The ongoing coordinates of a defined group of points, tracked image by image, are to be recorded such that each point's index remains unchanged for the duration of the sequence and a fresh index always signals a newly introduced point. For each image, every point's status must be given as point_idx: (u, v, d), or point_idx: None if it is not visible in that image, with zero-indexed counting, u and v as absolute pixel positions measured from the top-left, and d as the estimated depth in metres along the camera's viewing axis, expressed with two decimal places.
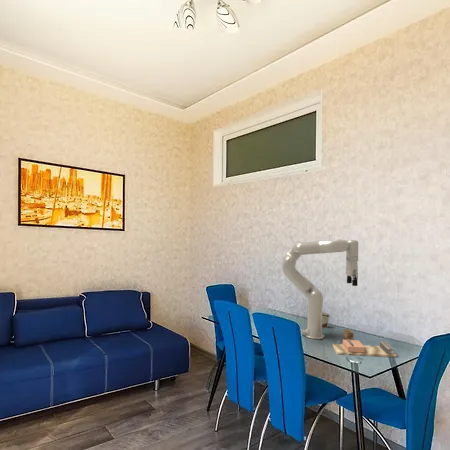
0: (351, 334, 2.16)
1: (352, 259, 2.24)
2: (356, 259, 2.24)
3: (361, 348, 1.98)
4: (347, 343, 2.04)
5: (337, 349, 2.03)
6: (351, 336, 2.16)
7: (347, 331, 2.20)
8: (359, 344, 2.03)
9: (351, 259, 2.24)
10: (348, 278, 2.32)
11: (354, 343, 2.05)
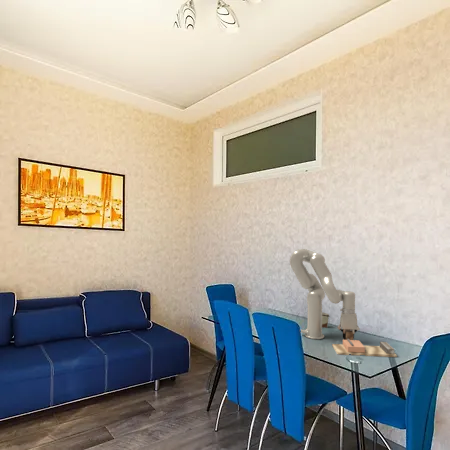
0: (351, 334, 2.16)
1: (354, 311, 2.19)
2: None
3: (361, 348, 1.98)
4: (347, 343, 2.04)
5: (337, 349, 2.03)
6: (351, 336, 2.16)
7: (347, 331, 2.20)
8: (359, 344, 2.03)
9: (354, 312, 2.18)
10: None
11: (354, 343, 2.05)
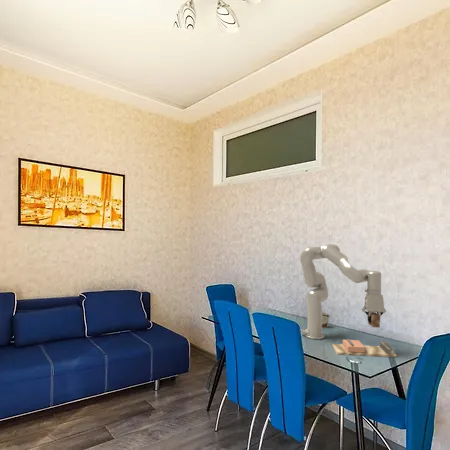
0: (377, 316, 2.00)
1: (380, 292, 2.02)
2: None
3: (361, 348, 1.98)
4: (347, 343, 2.04)
5: (337, 349, 2.03)
6: (377, 319, 2.00)
7: (373, 313, 2.03)
8: (359, 344, 2.03)
9: (380, 293, 2.02)
10: None
11: (354, 343, 2.05)
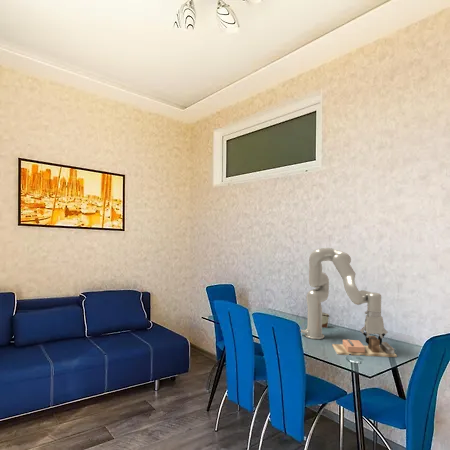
0: (377, 341, 2.00)
1: (380, 314, 2.02)
2: None
3: (361, 348, 1.98)
4: (347, 343, 2.04)
5: (337, 349, 2.03)
6: (377, 343, 2.00)
7: (372, 338, 2.03)
8: (359, 344, 2.03)
9: (380, 315, 2.02)
10: None
11: (354, 343, 2.05)
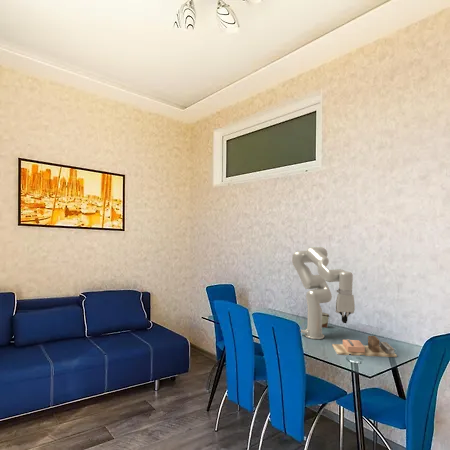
0: (377, 341, 2.00)
1: None
2: None
3: (361, 348, 1.98)
4: (347, 343, 2.04)
5: (337, 349, 2.03)
6: (377, 343, 2.00)
7: (372, 338, 2.03)
8: (359, 344, 2.03)
9: (351, 293, 2.03)
10: None
11: (354, 343, 2.05)
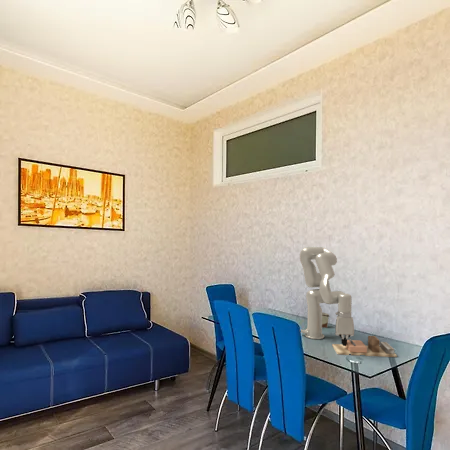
0: (377, 341, 2.00)
1: None
2: None
3: (363, 348, 1.98)
4: (349, 343, 2.04)
5: (337, 349, 2.03)
6: (377, 343, 2.00)
7: (372, 338, 2.03)
8: (361, 344, 2.03)
9: None
10: None
11: (356, 343, 2.04)
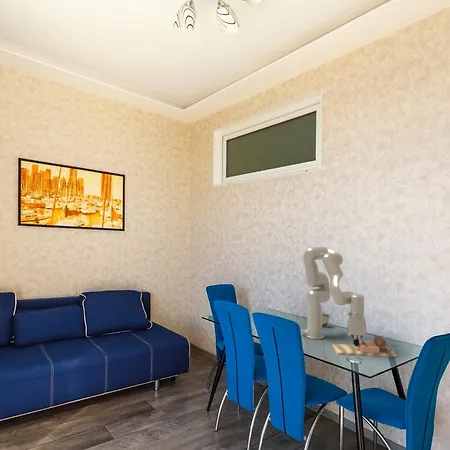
0: (383, 342, 1.99)
1: (363, 316, 2.03)
2: None
3: (375, 349, 1.98)
4: (361, 344, 2.04)
5: (337, 349, 2.03)
6: (383, 344, 1.99)
7: (379, 338, 2.03)
8: (373, 345, 2.02)
9: (363, 316, 2.02)
10: None
11: (368, 344, 2.04)
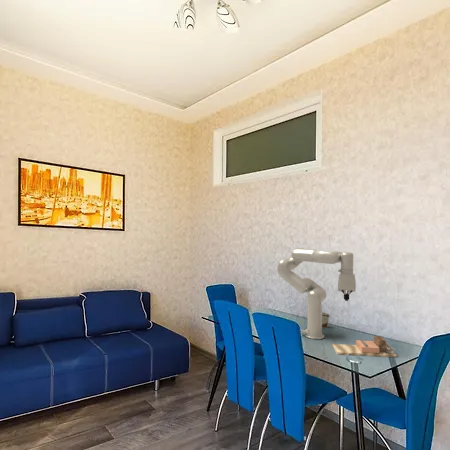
0: (383, 342, 1.99)
1: None
2: None
3: (375, 349, 1.98)
4: (361, 344, 2.04)
5: (337, 349, 2.03)
6: (383, 344, 1.99)
7: (378, 338, 2.03)
8: (373, 345, 2.02)
9: (352, 272, 2.17)
10: None
11: (368, 344, 2.04)
